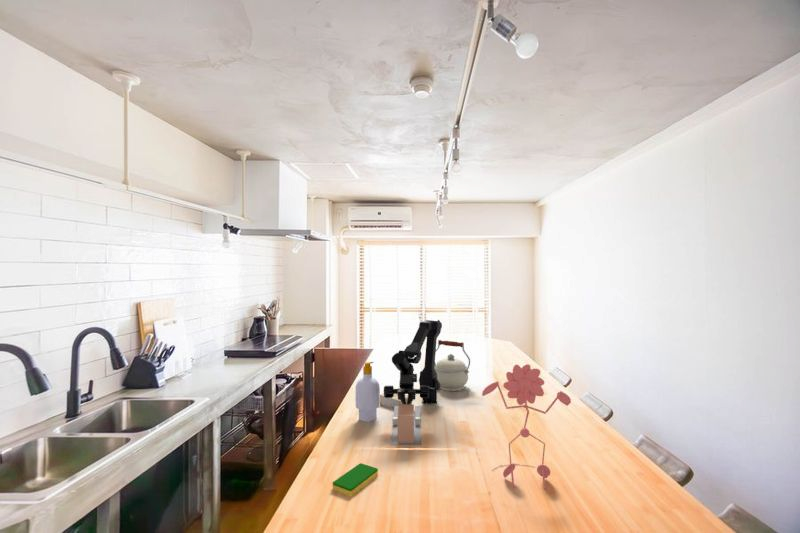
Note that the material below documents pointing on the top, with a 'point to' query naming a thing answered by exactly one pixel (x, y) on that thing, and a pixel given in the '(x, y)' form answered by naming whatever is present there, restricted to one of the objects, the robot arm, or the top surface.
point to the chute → (416, 428)
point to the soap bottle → (367, 395)
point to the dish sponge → (355, 479)
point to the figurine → (525, 388)
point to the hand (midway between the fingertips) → (406, 411)
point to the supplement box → (391, 400)
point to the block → (405, 423)
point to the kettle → (452, 369)
